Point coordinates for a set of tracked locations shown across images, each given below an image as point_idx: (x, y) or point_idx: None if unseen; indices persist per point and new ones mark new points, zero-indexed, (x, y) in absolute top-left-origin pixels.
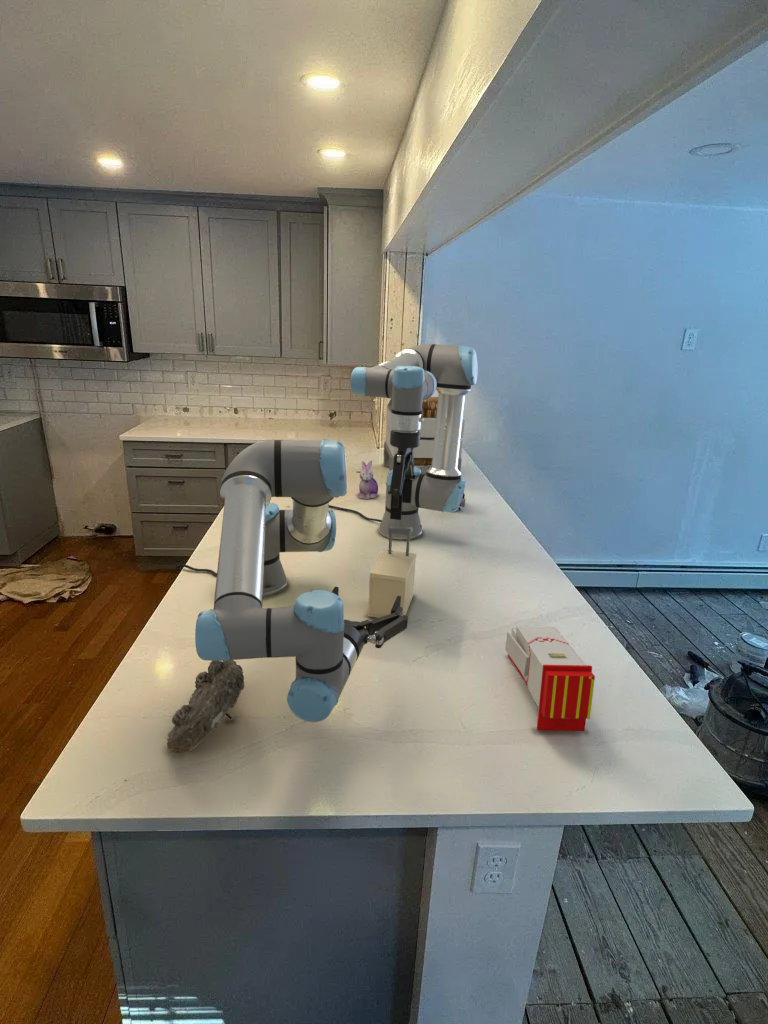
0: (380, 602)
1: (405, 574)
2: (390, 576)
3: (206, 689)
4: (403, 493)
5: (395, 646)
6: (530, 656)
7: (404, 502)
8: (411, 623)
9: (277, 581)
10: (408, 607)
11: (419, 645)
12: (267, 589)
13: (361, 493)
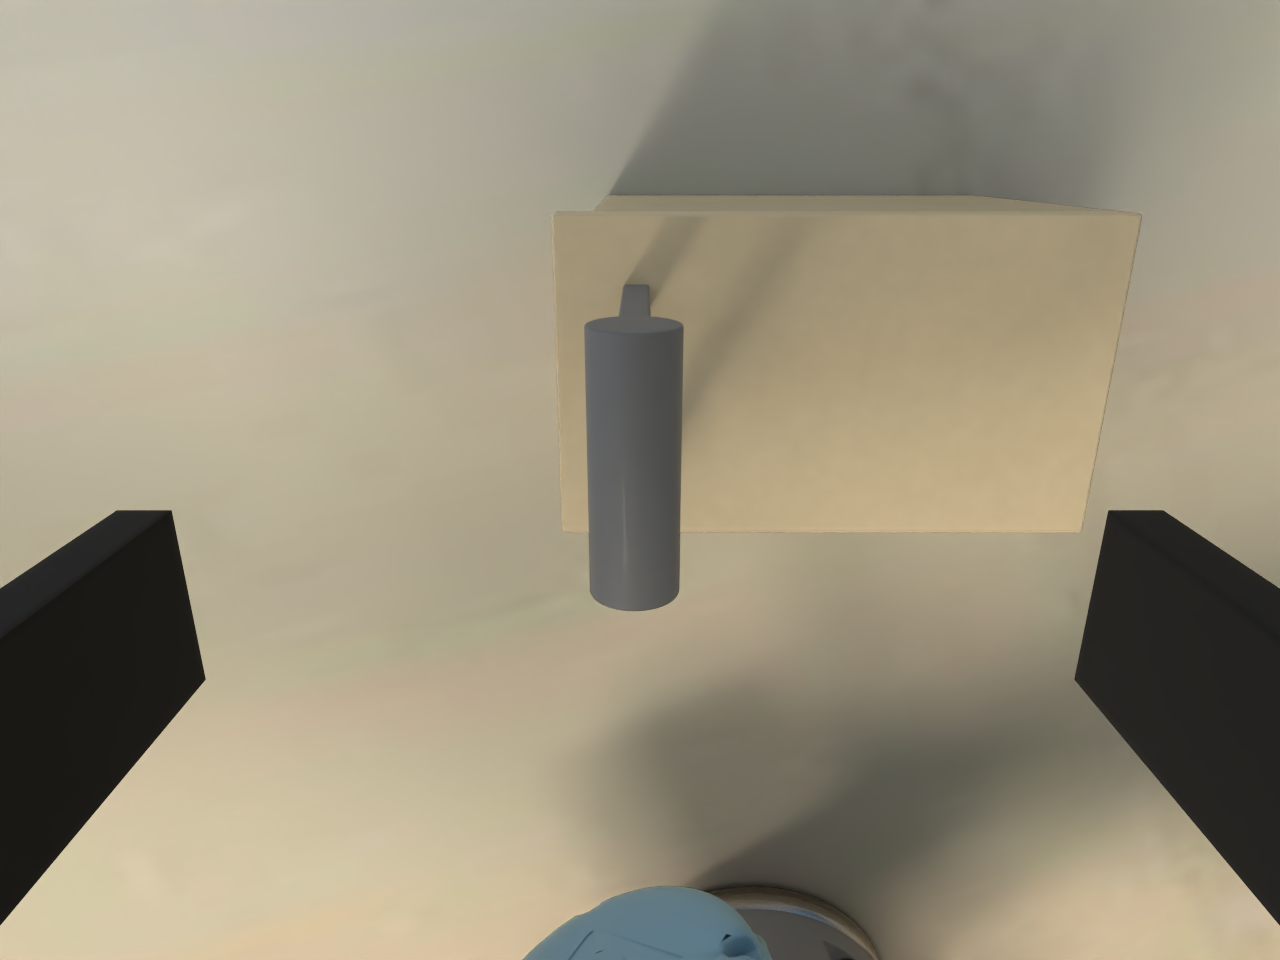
0: None
1: (1070, 230)
2: (1114, 357)
3: None
4: (95, 758)
5: (1262, 183)
6: None
7: (191, 620)
8: (981, 135)
9: (810, 953)
10: (786, 195)
11: (1242, 31)
12: (860, 957)
13: None
